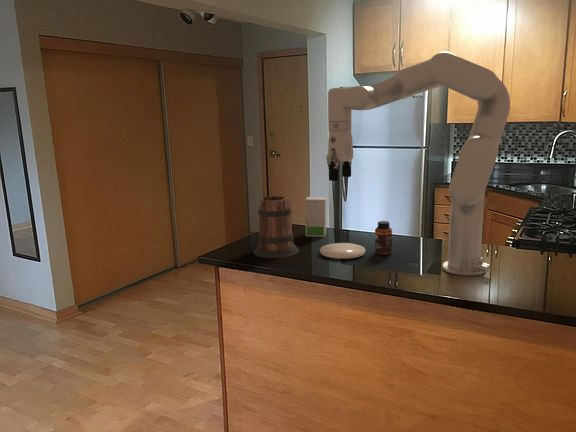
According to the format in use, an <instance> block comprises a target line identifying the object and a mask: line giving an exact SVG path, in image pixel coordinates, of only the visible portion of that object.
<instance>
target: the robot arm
mask: <svg viewBox="0 0 576 432" xmlns="http://www.w3.org/2000/svg"><path fill="white" fill-rule="evenodd" d="M440 87H445V88H447V89H450V90H451V91H454V92H456V93H459V94H461V95H463V96H466V97H467V98H470V99H472V100H473V101H476V102H477V112H476V115H475V117H474V120H473V124H472V127H471V129H470V131H469V132H470V133H469V135H468V138H467V140H465V142H464V143H463V145H462V147H461V150H460V152H459V155H458V158H457V162H456V164H455V168H454V170H453V172H452V173H453V174H452V177H451V180H450V181H449V185H448V194H449V197H450V210H449V212H450V213H449V229H448V251H447V252H448V254H447V261H444V262H443V263H442V269H443V270H444V272H447V273H449V274H453V275H457V276H464V277H465V276H466V277H468V276H469V277H471V276H479V275H483V274H484V273H488V272H489V271H490V268H491V265H490V264H488V263H485V262H484V260H485V259H484V257H482V256H481V255H482V241H483V240H482V239H483V224H484V223H483V222H484V211H485V210H484V209H485V195H486V189H487V185H488V183H489V180H490V178H491V174H492V172H493V169H494V166H495V164H496V160H497V158H498V153H499V146H500V142H501V139H502V136H503V133H504V130H505V127H506V124H507V121H508V118H509V114H510V109H511V97H510V94H509V91H508V88H507V87H506V85H505V84H504V82H503V81H502V80H501V79H500V78H499V77H498V76H497V74H496V73H495V72H494V71H492V70H491V69H489V68H487V67H484V66H482V65H479V64H477V63H475V62H473V61H469V60H467V59H466V58H462V57H461V56H458V55H456V54H454V53H453V52H450V51H441V52H437V53H436V54H434V55H433V56H431V58H430V59H426V60H424V61H421V62H419V63H416V64H414V65H413V64H412V65H410V66H407V67H405V68H402V69H400V70H399V71H397V73H395V74H394V75H393V76H391V77H389V78H387V79H385V80H382V81H380V82H377V83H373V84H371V85H368V86H366V85H357V86H353V87H334V88H333V87H332V88H330V89H329V90H328V92H327V116H328V117H327V118H328V119H327V121H328V123H327V125H328V126H327V128H328V130H327V131H328V140H327V141H328V142H327V143H328V145H327V151H328V152H327V155H326V157H325V158H326V161H327V162H326V163H327V169H328V180H329V181H331V182H337V181H339V168H338V166H339V163H342V165H341V177H342V178H351V177H352V160H353V158H354V143H353V134H352V110H353V111H370V110H373V109H376V108H380V107H384V106H385V105H389V104H391V103H394V102H398V101H400V100H404V99H405V100H406V99H407V98H410V97H413V96H416V95H419V94H423V93H424V92H428V91H430V90H433V89H434V90H435V89H437V88H440ZM482 273H483V274H482Z"/></svg>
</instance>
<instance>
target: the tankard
mask: <svg viewBox="0 0 576 432" xmlns="http://www.w3.org/2000/svg"><path fill="white" fill-rule="evenodd" d="M258 205H259V206H258V207H259V208H258V210H257V213H258V234H257V240H258V244H257V245H256V247H255V249H254V250H253V254H254V255H255V256H257V257H259V258H265V259H280V258H281V257H283V258H288V257H287V256H289V257H292V256H295V255H297V254H298V253H299V251H300V249H299V248H298V247H297V245H296V244H295V243H294V233H295V227H294V225H292V207H291V201H290V198H289V197H286V196H284V195H283V196H282V195H275V196H262V197H260V198H259V204H258ZM281 259H282V258H281Z"/></svg>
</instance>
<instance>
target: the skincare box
mask: <svg viewBox="0 0 576 432" xmlns="http://www.w3.org/2000/svg"><path fill="white" fill-rule="evenodd" d="M304 234H305V237H313V238H315V237H316V238H325V237H326V234H327V197H325V196H324V197H323V196H322V197H321V196H307V197H306V199H305V233H304Z"/></svg>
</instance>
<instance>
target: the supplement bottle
mask: <svg viewBox="0 0 576 432" xmlns="http://www.w3.org/2000/svg"><path fill="white" fill-rule="evenodd" d="M374 252H375V253H376V254H378V255H380V256H386V255H387V256H388V255H390V254H392V252H393V229H392V228H391V227H390V221H387V220H379V221H377V227H375V229H374Z"/></svg>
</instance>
